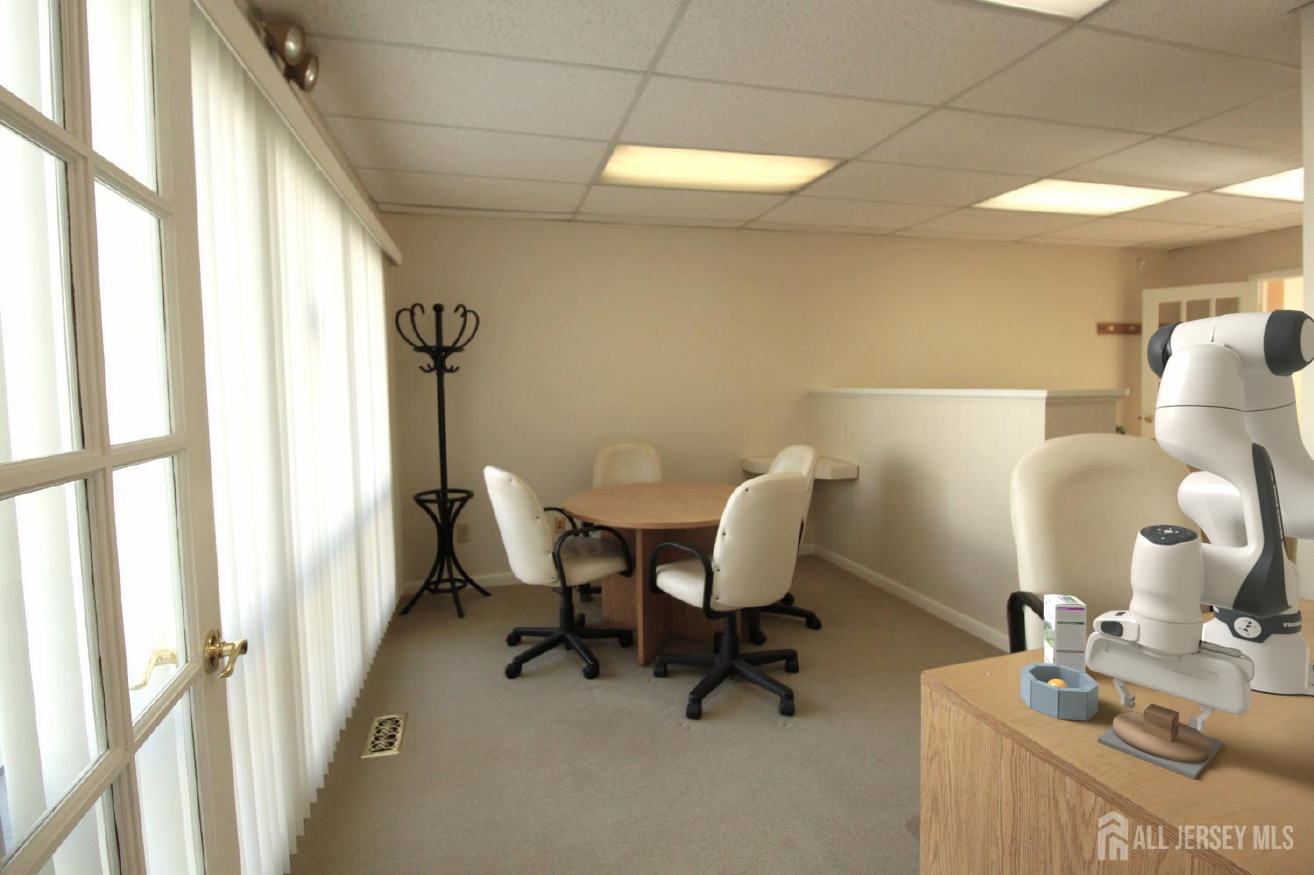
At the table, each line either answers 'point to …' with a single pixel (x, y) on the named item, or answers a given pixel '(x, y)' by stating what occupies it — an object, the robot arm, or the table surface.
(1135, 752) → the mat
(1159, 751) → the lid
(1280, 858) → the table surface
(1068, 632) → the syrup box
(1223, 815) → the table surface
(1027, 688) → the bowl
